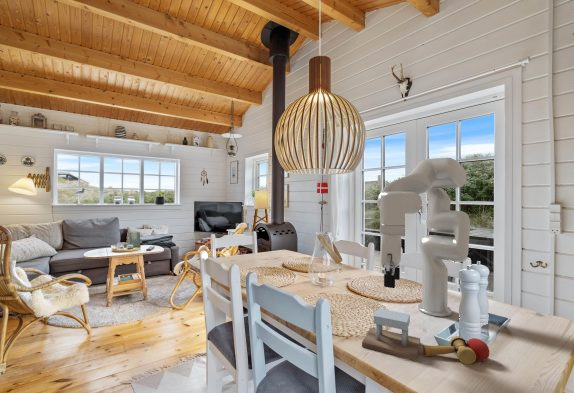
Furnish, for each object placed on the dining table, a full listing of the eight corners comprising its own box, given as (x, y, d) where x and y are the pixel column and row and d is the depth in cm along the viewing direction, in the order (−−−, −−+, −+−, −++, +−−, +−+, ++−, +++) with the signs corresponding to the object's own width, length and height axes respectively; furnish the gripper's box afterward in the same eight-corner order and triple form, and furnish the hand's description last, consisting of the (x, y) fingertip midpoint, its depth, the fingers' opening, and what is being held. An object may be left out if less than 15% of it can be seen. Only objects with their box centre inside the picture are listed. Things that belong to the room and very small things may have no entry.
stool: (409, 338, 95) (409, 314, 95) (406, 348, 89) (407, 322, 89) (378, 331, 100) (378, 308, 100) (373, 340, 93) (373, 315, 93)
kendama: (430, 369, 83) (498, 365, 81) (426, 345, 85) (492, 340, 82) (422, 358, 91) (483, 355, 89) (418, 337, 92) (478, 333, 90)
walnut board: (370, 331, 103) (370, 327, 103) (420, 342, 95) (420, 338, 95) (361, 346, 92) (361, 342, 92) (416, 360, 85) (416, 355, 85)
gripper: (385, 226, 103) (385, 275, 103) (374, 232, 88) (374, 288, 88) (408, 228, 99) (407, 278, 100) (400, 234, 84) (400, 293, 84)
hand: (392, 283), depth 94 cm, fingers open, 9 cm apart
